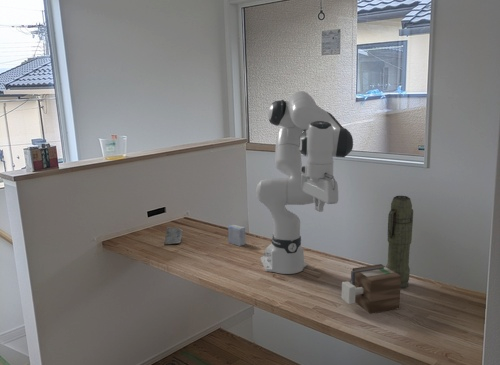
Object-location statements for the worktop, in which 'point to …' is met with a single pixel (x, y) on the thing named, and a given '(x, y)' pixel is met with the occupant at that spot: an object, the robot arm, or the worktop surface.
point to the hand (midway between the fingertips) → (318, 210)
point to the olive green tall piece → (400, 237)
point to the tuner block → (378, 289)
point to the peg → (353, 287)
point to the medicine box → (236, 235)
